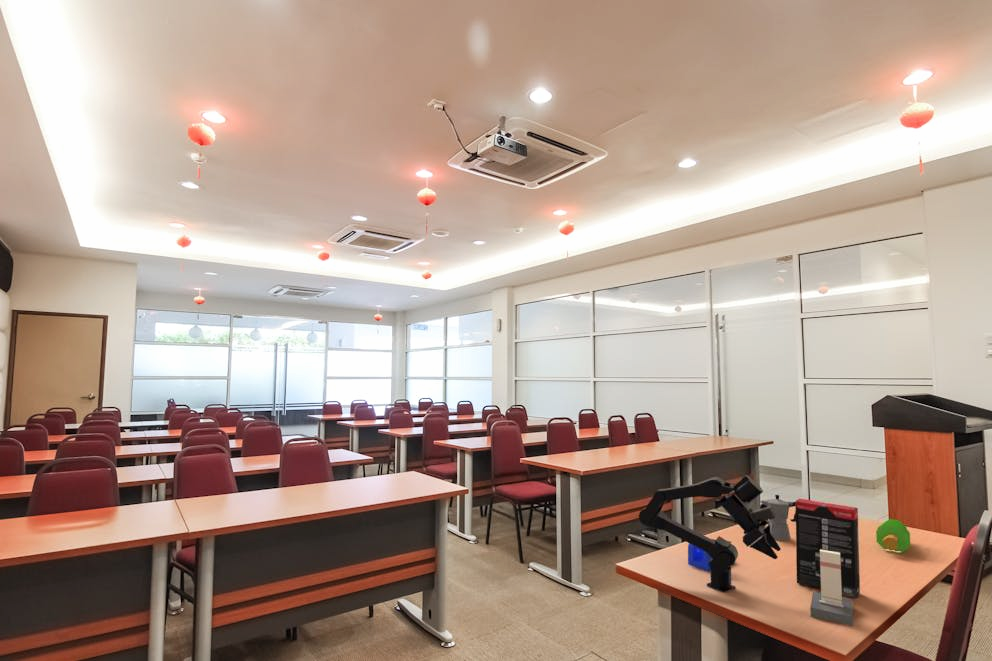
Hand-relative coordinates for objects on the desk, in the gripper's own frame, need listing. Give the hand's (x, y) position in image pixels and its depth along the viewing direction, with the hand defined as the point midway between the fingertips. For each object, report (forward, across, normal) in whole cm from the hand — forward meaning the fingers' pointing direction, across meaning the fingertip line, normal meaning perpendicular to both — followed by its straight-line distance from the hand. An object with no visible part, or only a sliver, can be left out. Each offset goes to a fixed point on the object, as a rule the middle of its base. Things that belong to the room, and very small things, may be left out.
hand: (778, 554), depth 163 cm
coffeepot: (+6, +73, +14) cm, 74 cm away
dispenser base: (+19, -1, 0) cm, 19 cm away
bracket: (-6, +22, +26) cm, 35 cm away
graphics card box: (+18, +19, +1) cm, 27 cm away
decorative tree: (+34, +86, -15) cm, 94 cm away
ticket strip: (+19, -1, 0) cm, 19 cm away
